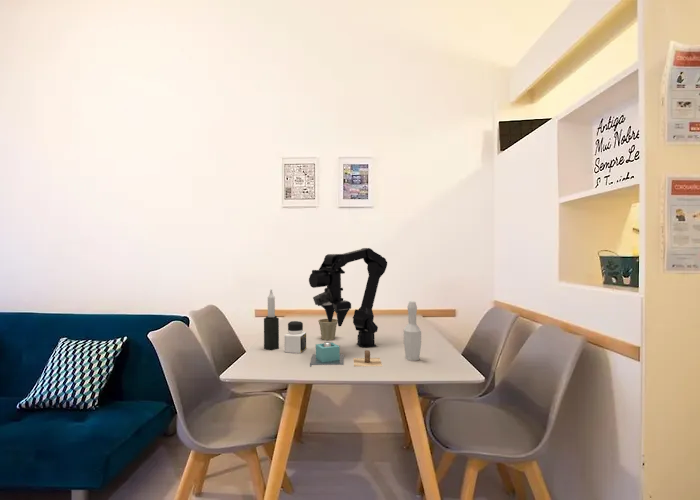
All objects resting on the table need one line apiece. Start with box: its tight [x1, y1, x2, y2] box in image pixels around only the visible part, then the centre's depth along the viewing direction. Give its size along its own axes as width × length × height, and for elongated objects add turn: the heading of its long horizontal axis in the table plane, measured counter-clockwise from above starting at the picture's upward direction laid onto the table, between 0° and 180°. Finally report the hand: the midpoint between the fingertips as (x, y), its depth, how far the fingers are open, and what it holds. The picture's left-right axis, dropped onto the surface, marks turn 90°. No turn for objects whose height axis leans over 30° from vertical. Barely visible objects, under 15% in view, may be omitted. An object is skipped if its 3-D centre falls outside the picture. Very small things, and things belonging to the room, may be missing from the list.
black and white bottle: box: [263, 288, 280, 351], centre depth 161 cm, size 5×5×25 cm
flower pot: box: [317, 318, 338, 341], centre depth 178 cm, size 9×9×9 cm
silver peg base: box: [309, 341, 345, 367], centre depth 142 cm, size 12×12×7 cm
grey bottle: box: [403, 300, 422, 362], centre depth 143 cm, size 6×6×22 cm
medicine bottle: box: [283, 320, 307, 354], centre depth 157 cm, size 7×7×12 cm
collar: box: [315, 341, 341, 362], centre depth 142 cm, size 7×7×5 cm
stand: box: [352, 349, 383, 367], centre depth 139 cm, size 10×10×5 cm
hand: (334, 324), depth 153 cm, fingers open, 9 cm apart
